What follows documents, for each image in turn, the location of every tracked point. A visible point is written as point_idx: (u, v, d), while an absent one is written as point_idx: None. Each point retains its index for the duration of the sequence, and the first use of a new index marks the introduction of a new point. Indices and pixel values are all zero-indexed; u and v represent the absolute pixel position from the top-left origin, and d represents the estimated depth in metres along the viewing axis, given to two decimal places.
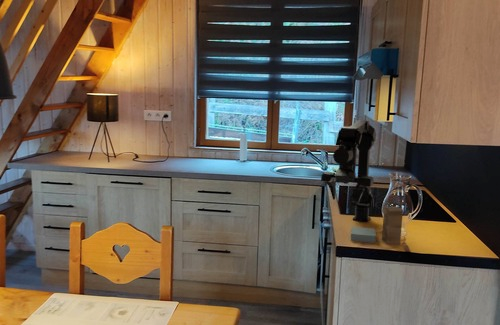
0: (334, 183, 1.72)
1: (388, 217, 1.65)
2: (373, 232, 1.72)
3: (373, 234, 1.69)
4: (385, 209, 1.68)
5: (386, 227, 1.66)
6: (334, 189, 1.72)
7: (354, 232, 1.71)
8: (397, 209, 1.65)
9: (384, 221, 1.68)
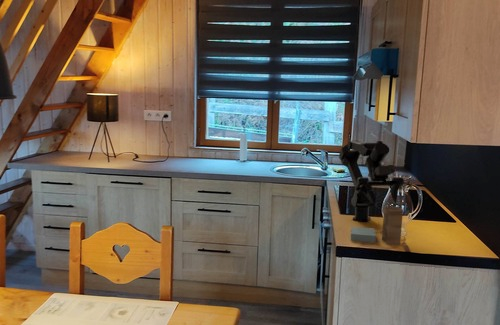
0: None
1: (388, 217, 1.65)
2: (373, 231, 1.72)
3: (373, 234, 1.69)
4: (385, 209, 1.68)
5: (386, 227, 1.66)
6: None
7: (354, 232, 1.71)
8: (397, 209, 1.65)
9: (384, 221, 1.68)
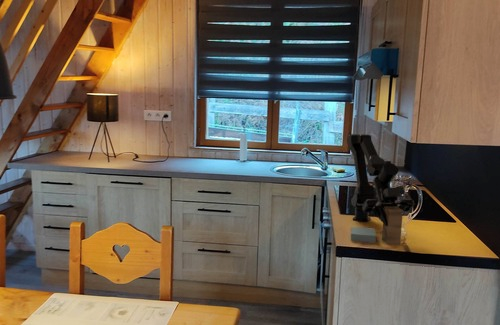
0: None
1: (388, 217, 1.65)
2: (373, 231, 1.72)
3: (373, 234, 1.69)
4: (385, 209, 1.68)
5: (386, 227, 1.66)
6: None
7: (354, 232, 1.71)
8: (397, 209, 1.65)
9: None
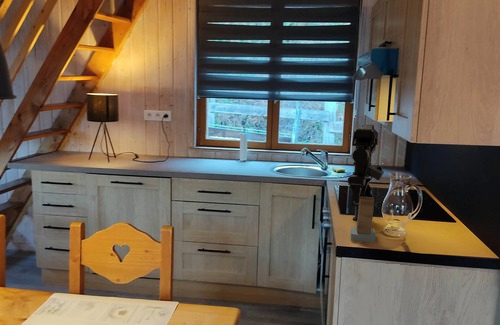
0: None
1: (359, 206, 1.69)
2: (373, 232, 1.72)
3: (373, 234, 1.69)
4: None
5: (358, 215, 1.71)
6: None
7: (354, 232, 1.71)
8: (370, 199, 1.68)
9: (358, 210, 1.73)
